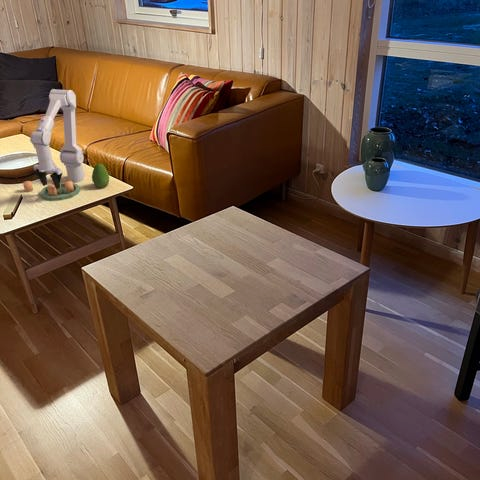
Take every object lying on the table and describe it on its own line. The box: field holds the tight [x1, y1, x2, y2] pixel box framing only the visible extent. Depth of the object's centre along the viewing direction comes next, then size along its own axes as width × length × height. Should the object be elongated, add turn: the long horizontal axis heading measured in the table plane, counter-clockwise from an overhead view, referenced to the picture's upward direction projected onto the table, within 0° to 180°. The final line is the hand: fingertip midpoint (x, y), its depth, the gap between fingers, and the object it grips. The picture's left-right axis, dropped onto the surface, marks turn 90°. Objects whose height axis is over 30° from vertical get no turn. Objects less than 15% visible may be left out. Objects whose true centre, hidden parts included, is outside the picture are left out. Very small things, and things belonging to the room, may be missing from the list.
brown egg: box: [22, 180, 34, 193], centre depth 218 cm, size 4×4×5 cm
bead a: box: [63, 180, 74, 194], centre depth 216 cm, size 4×4×5 cm
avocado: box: [91, 163, 110, 189], centre depth 221 cm, size 8×8×12 cm
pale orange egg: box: [46, 184, 57, 196], centre depth 212 cm, size 4×4×5 cm
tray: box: [39, 182, 81, 201], centre depth 217 cm, size 17×17×2 cm
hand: (51, 186), depth 211 cm, fingers open, 7 cm apart
